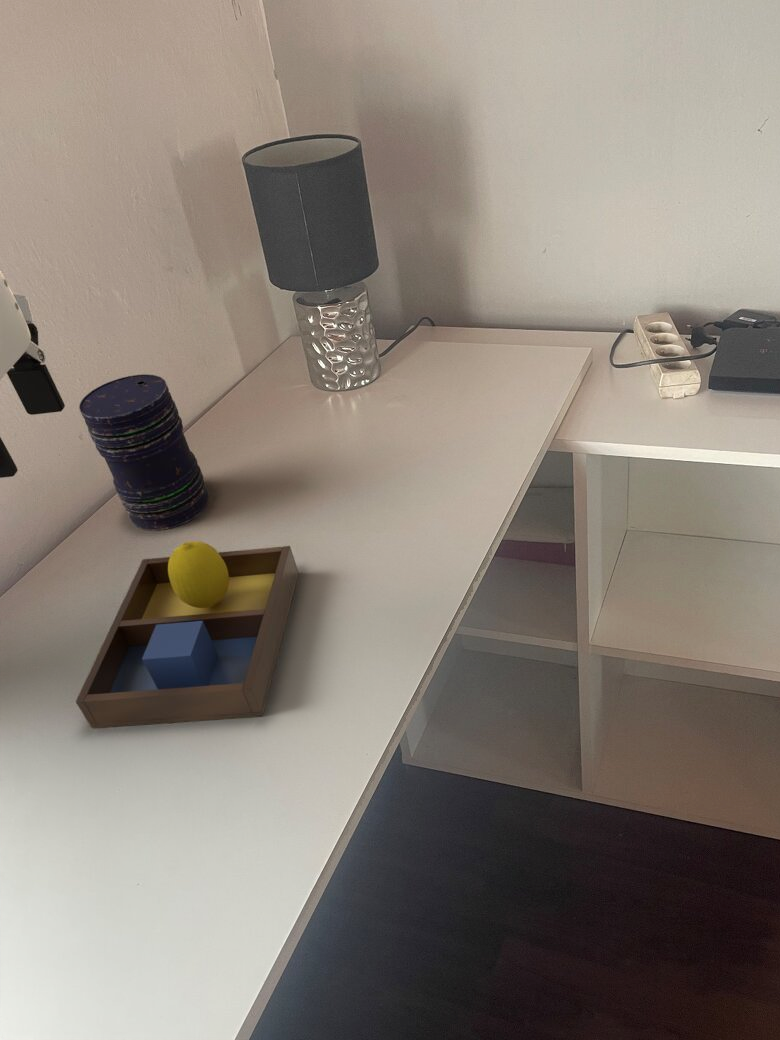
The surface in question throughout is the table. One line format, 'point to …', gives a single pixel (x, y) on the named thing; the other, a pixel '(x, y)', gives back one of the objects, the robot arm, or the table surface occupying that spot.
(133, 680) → the sorting tray
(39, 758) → the table surface
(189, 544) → the lemon
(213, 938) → the table surface
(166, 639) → the blue block
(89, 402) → the storage jar
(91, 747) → the table surface
